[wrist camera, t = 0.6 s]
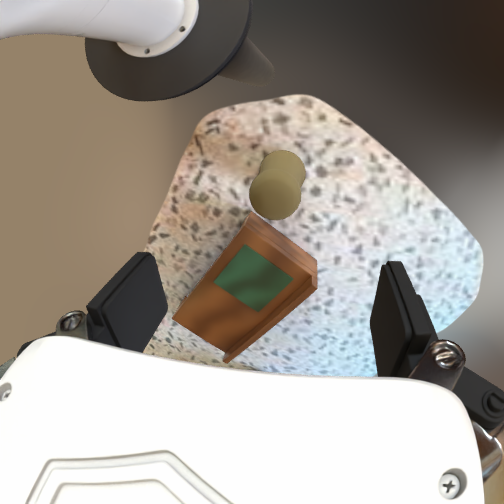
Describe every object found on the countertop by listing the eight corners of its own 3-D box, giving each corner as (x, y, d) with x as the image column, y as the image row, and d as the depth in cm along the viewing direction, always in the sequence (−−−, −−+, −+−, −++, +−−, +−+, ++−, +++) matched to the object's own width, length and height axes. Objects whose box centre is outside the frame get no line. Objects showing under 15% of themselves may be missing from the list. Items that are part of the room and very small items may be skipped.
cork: (263, 145, 35) (247, 163, 26) (310, 156, 35) (312, 178, 25) (255, 188, 38) (237, 221, 29) (299, 199, 38) (296, 235, 28)
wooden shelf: (181, 300, 51) (166, 326, 45) (251, 210, 40) (240, 232, 34) (235, 335, 53) (226, 363, 47) (317, 260, 42) (317, 288, 36)
